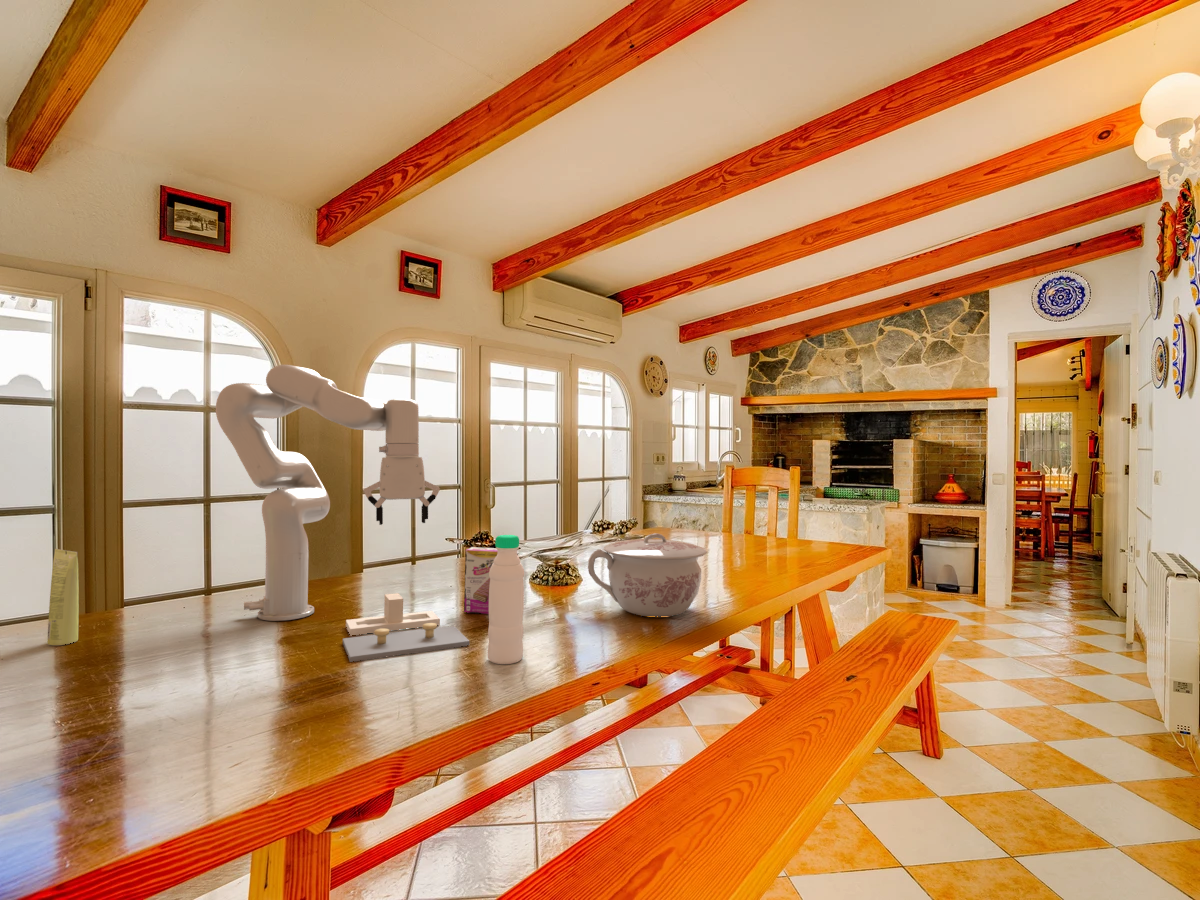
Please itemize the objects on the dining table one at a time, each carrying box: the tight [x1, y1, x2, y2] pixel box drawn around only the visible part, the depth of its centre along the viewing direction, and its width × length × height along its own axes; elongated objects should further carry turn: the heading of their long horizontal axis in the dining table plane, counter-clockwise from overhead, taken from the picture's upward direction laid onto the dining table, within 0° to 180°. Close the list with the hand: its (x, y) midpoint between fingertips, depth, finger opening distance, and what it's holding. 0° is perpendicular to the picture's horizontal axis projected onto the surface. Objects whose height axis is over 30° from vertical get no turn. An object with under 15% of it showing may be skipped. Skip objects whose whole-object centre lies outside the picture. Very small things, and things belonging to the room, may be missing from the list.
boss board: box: [342, 623, 470, 663], centre depth 134 cm, size 24×13×4 cm, turn 118°
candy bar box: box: [463, 546, 498, 615], centre depth 161 cm, size 11×5×16 cm, turn 84°
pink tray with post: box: [345, 592, 441, 637], centre depth 147 cm, size 20×8×7 cm, turn 118°
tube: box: [47, 548, 80, 646], centre depth 131 cm, size 6×5×20 cm
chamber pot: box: [587, 533, 708, 617], centre depth 165 cm, size 28×28×21 cm
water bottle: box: [487, 534, 525, 665], centre depth 126 cm, size 7×7×25 cm
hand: (402, 523), depth 148 cm, fingers open, 9 cm apart
